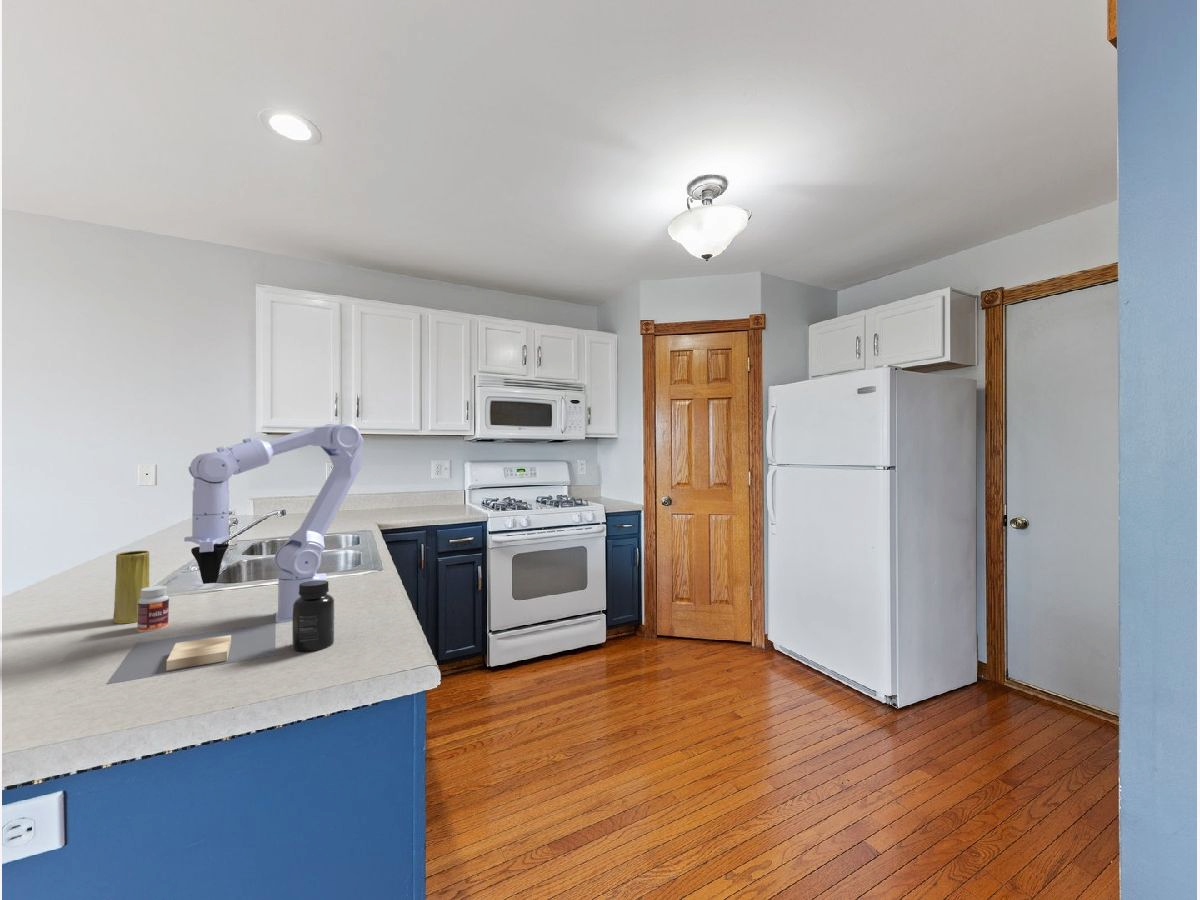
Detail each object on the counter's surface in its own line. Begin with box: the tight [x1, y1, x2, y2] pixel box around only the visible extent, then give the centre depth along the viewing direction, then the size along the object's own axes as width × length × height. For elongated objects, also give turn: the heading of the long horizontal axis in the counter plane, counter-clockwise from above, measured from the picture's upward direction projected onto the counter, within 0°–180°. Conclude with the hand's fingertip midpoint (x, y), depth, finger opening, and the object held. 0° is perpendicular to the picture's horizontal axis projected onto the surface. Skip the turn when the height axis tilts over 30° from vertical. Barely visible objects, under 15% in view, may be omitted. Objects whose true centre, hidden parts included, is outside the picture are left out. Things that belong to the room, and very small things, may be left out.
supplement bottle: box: [291, 580, 335, 653], centre depth 96 cm, size 7×7×12 cm
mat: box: [106, 622, 277, 685], centre depth 93 cm, size 22×20×1 cm
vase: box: [112, 550, 150, 625], centre depth 110 cm, size 6×6×14 cm
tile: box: [166, 635, 231, 671], centre depth 90 cm, size 8×2×9 cm
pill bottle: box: [137, 585, 170, 633], centre depth 104 cm, size 5×5×8 cm
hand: (210, 582), depth 101 cm, fingers closed
